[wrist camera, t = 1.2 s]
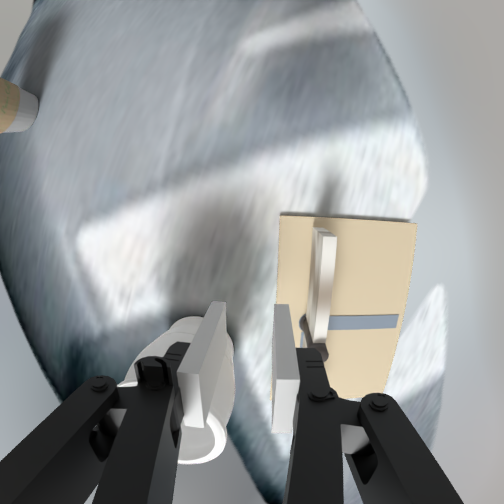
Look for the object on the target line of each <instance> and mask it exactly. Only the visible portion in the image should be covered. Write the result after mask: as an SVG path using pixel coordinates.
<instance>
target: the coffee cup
mask: <svg viewBox="0 0 504 504" xmlns="http://www.w3.org/2000/svg"><path fill="white" fill-rule="evenodd" d="M38 107H39V104H38V99H37V97H36V96H35V95H33V94H31V93H29V92H27V91H25V90H23V89H21V88H19V87H18V86H17V85H15V84H13V83H11V82H9V81H6V80H4V79H2V78H0V133H3V132H23V131H26V130H27V129H29V128H30V127H31V126H32V124H33V123H34V121H35V119H36V117H37V113H38Z"/></svg>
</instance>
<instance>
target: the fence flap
mask: <svg viewBox="0 0 504 504" xmlns="http://www.w3.org/2000/svg"><path fill="white" fill-rule="evenodd" d="M336 246H337V237H336V236H335V235H334V234H332V233H331V232H329V231H328V230H327V229H325V228H320V227H313V231H312V249H311V264H310V277H309V290H308V301H307V312H306V318H307V319H306V320H305V321H304V322H303V330H304V334H305V339H306V343H307V348H315V349H316V350H318V351H319V352H320V353H321V356H322V359H323V363H324V362H326V361H327V359H328V357H329V353H328V350H327V347H326V344H325V343H326V337H327V330H328V322H329V315H330V307H331V298H332V289H333V280H334V269H335V258H336Z"/></svg>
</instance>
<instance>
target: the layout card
mask: <svg viewBox="0 0 504 504" xmlns="http://www.w3.org/2000/svg"><path fill="white" fill-rule="evenodd" d="M313 227H320V228H325V229H327V230H328V231H329V232H331V233H332V234H334V235H335V236H336V237H337V246H336V258H335V269H334V280H333V289H332V298H331V307H330V315H329V322H328V330H327V337H326V343H325V344H326V347H327V350H328V353H329V357H328V359H327V361H326V362H324V368H325V370H326V373H327V377H328V380H329V384H330V387H331V388H333V389H334V390H335V391H336V392H337V394H338V397H340V398H342V399H348V398H360V397H364V396H365V395H367V394H370V393H383V391H384V388H385V385H386V381H387V378H388V375H389V372H390V368H391V365H392V361H393V358H394V354H395V350H396V346H397V342H398V338H399V334H400V330H401V325H402V321H403V317H404V312H405V307H406V301H407V297H408V291H409V285H410V279H411V273H412V266H413V258H414V251H415V241H416V232H417V224H416V223H405V222H392V221H378V220H363V219H346V218H328V217H307V216H282V215H280V227H279V253H278V276H277V296H276V304H289V309H290V315H291V321H292V328H293V334H294V341H295V348H302V345H303V336H304V331H302V330H301V328H300V320H301V318H302V317H303V316H305V315H306V312H307V301H308V290H309V277H310V264H311V249H312V231H313ZM270 400H272V378H271V391H270Z"/></svg>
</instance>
